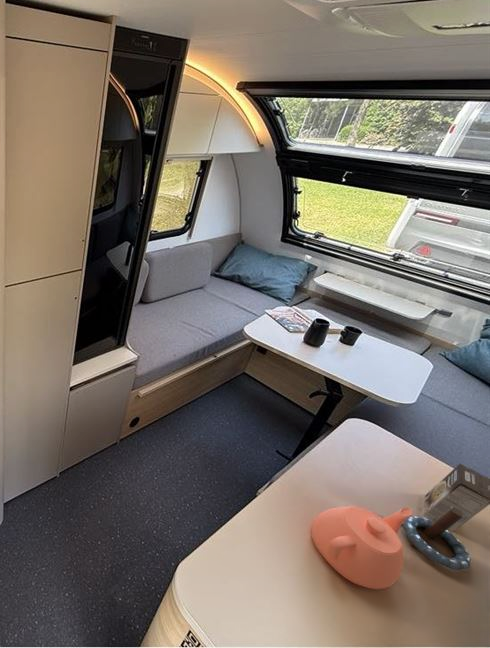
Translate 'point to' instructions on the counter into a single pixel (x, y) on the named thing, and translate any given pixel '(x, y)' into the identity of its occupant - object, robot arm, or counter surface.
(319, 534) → the teapot
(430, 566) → the counter surface
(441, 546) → the post
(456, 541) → the ring
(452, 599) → the counter surface
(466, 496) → the coffee box
